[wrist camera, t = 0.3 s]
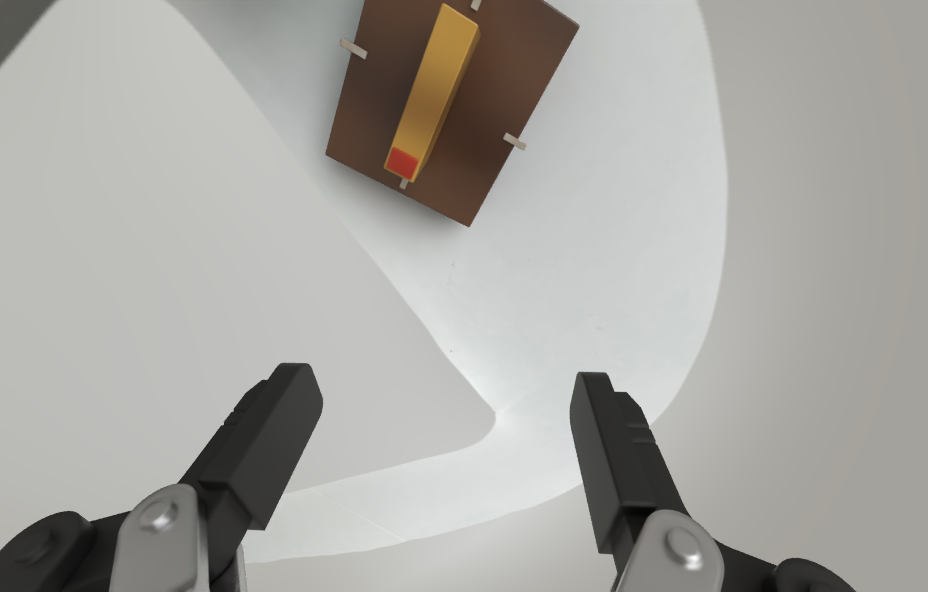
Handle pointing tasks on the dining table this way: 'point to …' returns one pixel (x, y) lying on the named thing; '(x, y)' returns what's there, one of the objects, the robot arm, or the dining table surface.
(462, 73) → the yellow red-tipped block
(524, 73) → the dial base
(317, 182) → the dining table surface
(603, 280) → the dining table surface
